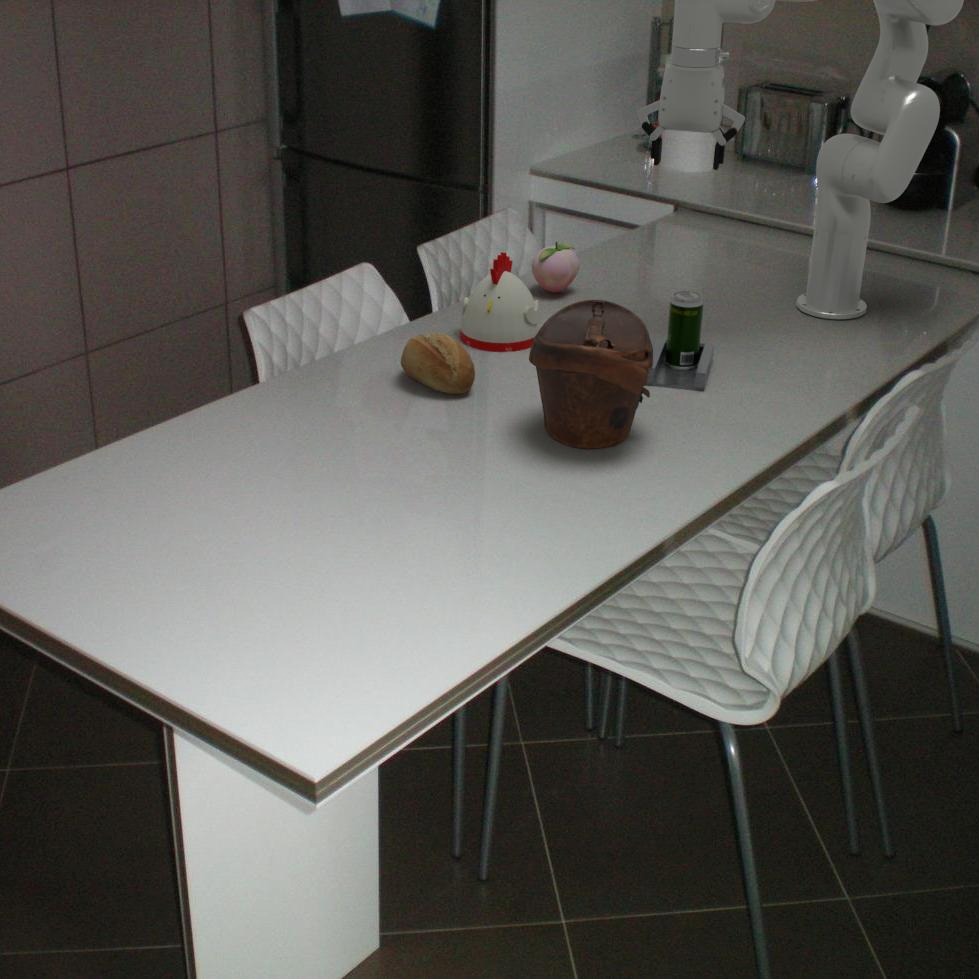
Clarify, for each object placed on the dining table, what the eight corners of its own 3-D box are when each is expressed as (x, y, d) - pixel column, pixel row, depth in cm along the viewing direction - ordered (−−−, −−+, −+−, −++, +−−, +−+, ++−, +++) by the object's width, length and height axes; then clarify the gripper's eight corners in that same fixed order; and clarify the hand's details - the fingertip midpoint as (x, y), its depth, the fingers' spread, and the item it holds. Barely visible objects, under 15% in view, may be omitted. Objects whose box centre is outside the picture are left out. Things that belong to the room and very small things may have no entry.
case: (570, 470, 193) (577, 350, 185) (503, 418, 209) (507, 305, 201) (676, 448, 201) (687, 332, 193) (603, 399, 216) (611, 290, 208)
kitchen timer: (448, 344, 235) (447, 260, 228) (478, 319, 247) (479, 237, 240) (524, 357, 231) (526, 271, 224) (551, 330, 242) (554, 247, 235)
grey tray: (656, 355, 232) (657, 338, 231) (712, 361, 230) (714, 344, 229) (644, 384, 221) (645, 367, 219) (703, 391, 219) (705, 373, 217)
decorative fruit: (548, 282, 265) (550, 231, 260) (584, 290, 261) (587, 239, 256) (521, 295, 258) (522, 243, 254) (557, 304, 254) (559, 251, 249)
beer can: (703, 368, 226) (710, 299, 220) (674, 372, 224) (679, 302, 218) (688, 357, 230) (694, 288, 225) (659, 361, 228) (664, 292, 223)
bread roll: (440, 406, 212) (440, 358, 209) (385, 376, 223) (384, 330, 219) (489, 391, 218) (490, 344, 214) (433, 363, 228) (432, 317, 224)
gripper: (752, 56, 218) (742, 164, 226) (644, 50, 222) (637, 156, 230) (748, 65, 212) (737, 175, 219) (636, 58, 215) (630, 167, 223)
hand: (686, 165), depth 225 cm, fingers open, 9 cm apart
